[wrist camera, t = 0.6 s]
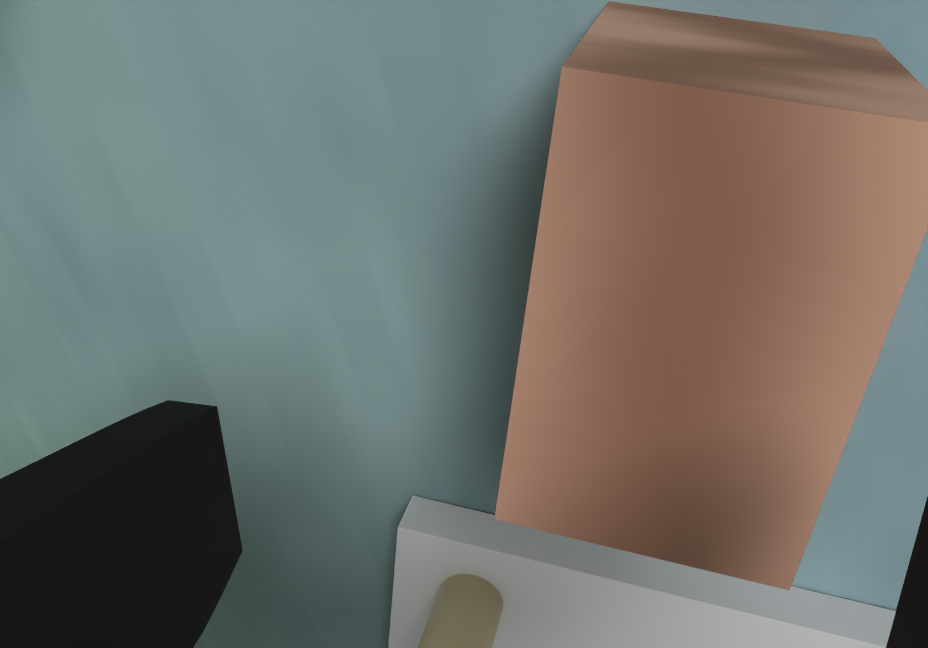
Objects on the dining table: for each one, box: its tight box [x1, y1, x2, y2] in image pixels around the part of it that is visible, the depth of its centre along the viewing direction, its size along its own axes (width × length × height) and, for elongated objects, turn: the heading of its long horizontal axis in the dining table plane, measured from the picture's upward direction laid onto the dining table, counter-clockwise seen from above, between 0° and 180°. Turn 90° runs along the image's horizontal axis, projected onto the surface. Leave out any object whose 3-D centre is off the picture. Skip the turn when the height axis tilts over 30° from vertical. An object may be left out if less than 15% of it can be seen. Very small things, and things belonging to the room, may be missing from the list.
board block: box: [494, 2, 928, 590], centre depth 14 cm, size 4×7×6 cm, turn 174°
